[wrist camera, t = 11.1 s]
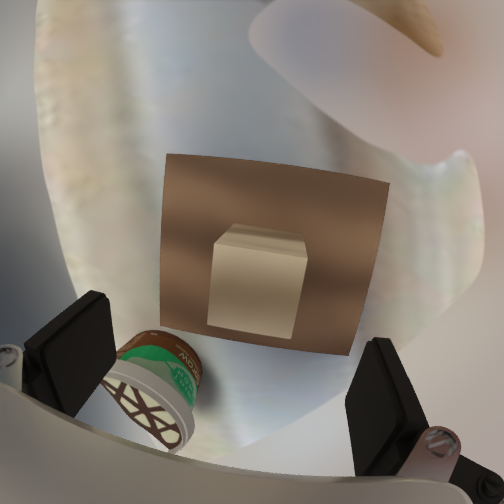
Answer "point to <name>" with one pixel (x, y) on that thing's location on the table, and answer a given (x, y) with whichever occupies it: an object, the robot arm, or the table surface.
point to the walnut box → (278, 218)
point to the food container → (157, 385)
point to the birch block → (257, 280)
